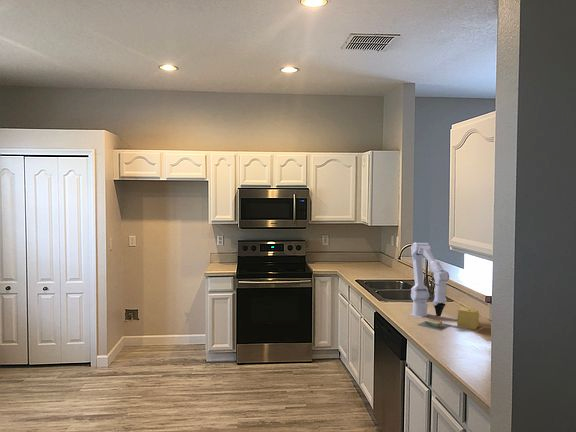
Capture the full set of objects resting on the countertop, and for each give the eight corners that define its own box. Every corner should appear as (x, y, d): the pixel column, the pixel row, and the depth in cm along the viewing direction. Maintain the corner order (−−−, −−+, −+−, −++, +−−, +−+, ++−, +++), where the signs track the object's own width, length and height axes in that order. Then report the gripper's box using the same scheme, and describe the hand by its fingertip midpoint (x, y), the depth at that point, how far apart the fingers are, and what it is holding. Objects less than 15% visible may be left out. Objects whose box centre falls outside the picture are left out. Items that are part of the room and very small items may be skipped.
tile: (430, 318, 270) (425, 321, 265) (442, 321, 266) (437, 323, 260) (429, 323, 270) (424, 325, 265) (441, 326, 266) (436, 328, 260)
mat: (428, 320, 277) (428, 319, 277) (452, 326, 268) (452, 325, 268) (416, 325, 265) (416, 324, 265) (441, 331, 256) (441, 330, 256)
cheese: (478, 326, 271) (480, 309, 271) (475, 330, 262) (477, 312, 262) (459, 322, 277) (461, 306, 276) (456, 327, 267) (457, 309, 267)
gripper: (442, 295, 261) (440, 319, 262) (452, 291, 272) (450, 315, 273) (429, 292, 266) (427, 316, 267) (440, 289, 277) (438, 312, 278)
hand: (438, 315), depth 270 cm, fingers closed
